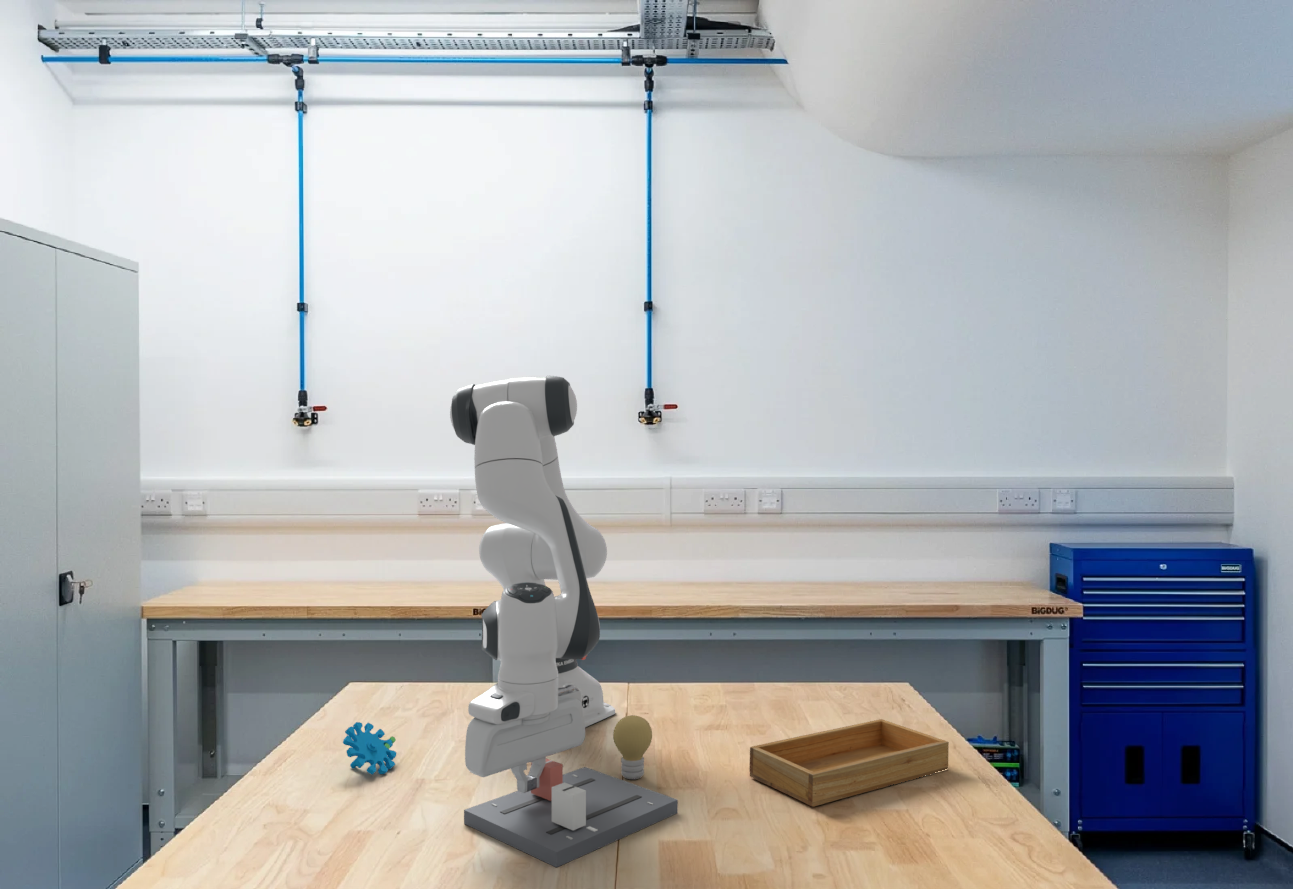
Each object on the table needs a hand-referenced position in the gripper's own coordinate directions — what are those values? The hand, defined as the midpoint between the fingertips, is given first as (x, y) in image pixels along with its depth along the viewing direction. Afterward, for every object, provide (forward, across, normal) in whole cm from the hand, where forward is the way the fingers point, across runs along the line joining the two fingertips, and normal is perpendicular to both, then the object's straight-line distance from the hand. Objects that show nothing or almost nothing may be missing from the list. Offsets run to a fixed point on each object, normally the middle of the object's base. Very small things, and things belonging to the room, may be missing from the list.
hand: (528, 789), depth 137 cm
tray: (+5, -48, +25) cm, 54 cm away
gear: (+4, +6, -34) cm, 35 cm away
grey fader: (+2, +1, +10) cm, 10 cm away
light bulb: (+4, -22, 0) cm, 22 cm away
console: (+4, -4, +5) cm, 8 cm away
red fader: (+2, -3, 0) cm, 4 cm away
